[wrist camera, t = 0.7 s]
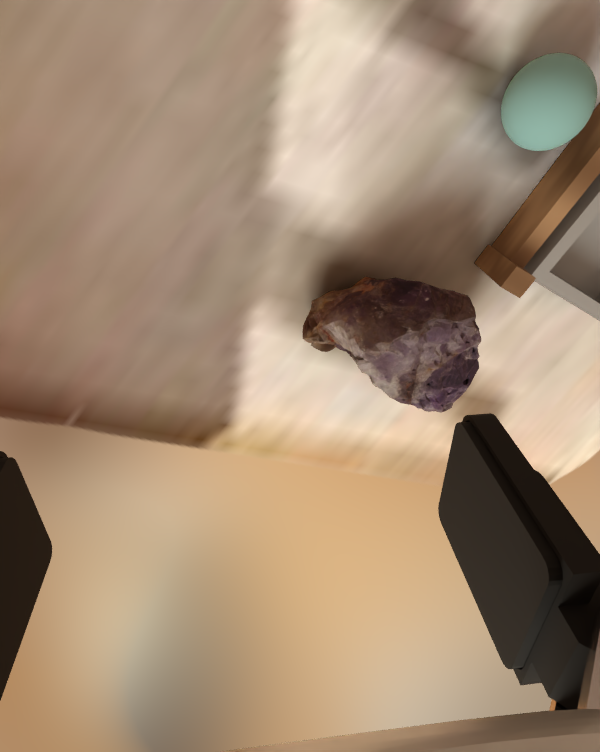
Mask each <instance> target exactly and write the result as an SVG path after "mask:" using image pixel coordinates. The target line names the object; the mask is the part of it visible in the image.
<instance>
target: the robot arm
mask: <svg viewBox="0 0 600 752" xmlns="http://www.w3.org/2000/svg"><path fill="white" fill-rule="evenodd" d="M438 509H439V517H440V521H441V524H442V526H443V528H444V530H445V532H446V535H447V537H448V539H449V542H450V544H451V546H452V549H453V551H454V553H455V556H456V558H457V560H458V562H459V565H460V567H461V569H462V571H463V574H464V576H465V578H466V581H467V583H468V585H469V587H470V590H471V592H472V594H473V597H474V599H475V601H476V603H477V605H478V608H479V610H480V612H481V615H482V617H483V619H484V622H485V624H486V626H487V628H488V631H489V633H490V635H491V637H492V640H493V642H494V644H495V647H496V649H497V651H498V653H499V656H500V658H501V660H502V662H503V664H504V665H505V667H506V668H508V669H514V671H515V674H516V676H517V678H518V680H519V683H520V685H527V684H534V683H542V684H543V686H544V688H545V690H546V692H547V694H548V696H549V697H550V698H551V699H552V701H551V706H550V710H549V711H541V712H532V713H523V714H514V715H505V716H495V717H486V718H477V719H468V720H459V721H451V722H443V723H435V724H428V725H420V726H412V727H404V728H396V729H388V730H381V731H373V732H365V733H358V734H350V735H342V736H334V737H326V738H318V739H311V740H303V741H296V742H289V743H281V744H274V745H266V746H258V747H251V748H243V749H236V750H229V751H222V752H600V554H599V553H598V551H597V550H596V549H595V547H594V546H593V545H592V543H591V542H590V540H589V539H588V538H587V536H586V535H585V534H584V532H583V531H582V529H581V528H580V527H579V525H578V524H577V522H576V521H575V520H574V518H573V517H572V516H571V514H570V513H569V511H568V510H567V509H566V507H565V506H564V505H563V503H562V502H561V500H560V499H559V498H558V496H557V495H556V494H555V492H554V491H553V490H552V488H551V487H550V485H549V484H548V482H547V481H546V480H545V478H544V477H543V476H542V475H541V474H540V473H539V472H537V471H535V470H534V469H533V468H532V466H531V465H530V464H529V462H528V461H527V459H526V458H525V457H524V455H523V454H522V452H521V451H520V450H519V448H518V447H517V445H516V444H515V443H514V441H513V440H512V438H511V437H510V436H509V434H508V433H507V431H506V430H505V429H504V427H503V426H502V424H501V423H500V422H499V420H498V419H497V417H496V416H495V415H494V414H491V413H490V414H477V415H467V416H465V417H464V418H463V421H462V422H459V423H457V424H456V426H455V430H454V435H453V440H452V444H451V449H450V454H449V459H448V463H447V468H446V473H445V478H444V482H443V487H442V492H441V497H440V502H439V508H438ZM51 556H52V545H51V541H50V538H49V536H48V534H47V532H46V529H45V527H44V524H43V522H42V520H41V518H40V515H39V513H38V511H37V508H36V506H35V503H34V501H33V499H32V497H31V494H30V492H29V490H28V487H27V485H26V483H25V480H24V478H23V476H22V473H21V471H20V469H19V466H18V464H17V462H16V460H15V459H14V458H8V457H7V455H6V454H5V453H4V452H2V451H0V700H1V697H2V694H3V692H4V689H5V686H6V683H7V680H8V678H9V675H10V672H11V669H12V667H13V664H14V661H15V658H16V655H17V653H18V649H19V647H20V644H21V641H22V639H23V636H24V633H25V630H26V627H27V625H28V622H29V619H30V616H31V613H32V611H33V608H34V605H35V602H36V599H37V597H38V594H39V591H40V588H41V585H42V583H43V580H44V577H45V574H46V571H47V569H48V566H49V563H50V559H51Z"/></svg>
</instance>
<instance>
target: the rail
mask: <svg viewBox="0 0 600 752" xmlns="http://www.w3.org/2000/svg"><path fill="white" fill-rule="evenodd" d="M599 174H600V103H599V105H598V106H597V107H596V109H595V110H594V111H593V112H592V115H591V117H590V119H589V120H588V122H587V123H586V125H585V126H584V128H583V129H582V130H581V131H580V132H579V133H578V134H577V135H576V136H575V137H574V138H573V139H572V140H571V142H570V143H569V144H568V146H567V147H566V148H565V149H564V151H563V152H562V153H561V155H560V156H559V157H558V159H557V160H556V161H555V163H554V164H553V165H552V167H551V168H550V169H549V171H548V172H547V173H546V175H545V176H544V177H543V179H542V180H541V181H540V183H539V184H538V185H537V187H536V188H535V189H534V190H533V192H532V193H531V194H530V196H529V197H528V198H527V200H526V201H525V202H524V204H523V205H522V206H521V208H520V209H519V210H518V212H517V213H516V214H515V216H514V217H513V218H512V220H511V221H510V222H509V224H508V225H507V226H506V228H505V229H504V230H503V231H502V233H501V234H500V235H499V237H498V238H497V239H496V241H495V242H494V243H493V245H492V246H490V245H489V244H488V245H487V247H486V248H485V249H484V251H483V252H482V253H481V255H480V256H479V257H478V259H477V260H476V261H475V264H476V265H477V266H478V267H479V268H480V269H481V270H482V271H484V272H485V273H486V274H487V275H488V276H489V277H490V278H491V279H493V280H494V281H495V282H496V283H497V284H498V285H499V286H500V287H502V288H504V289H505V290H507V291H509V292H510V293H512V294H514V295H516V296H517V297H519V298H520V297H521V296H522V295H523V294H524V293H525V291H526V290H527V289H528V288H529V286H530V285H531V284H532V283H533V282H534V280H535V279H536V278H535V277H534V276H533V275H531V274H530V273H529V272H528V271H526V270H525V269H524V267H525V265H526V264H527V263H528V262H529V260H530V259H531V258H532V257H533V255H534V254H535V253H536V252H537V250H538V249H539V248H540V247H541V246H542V244H543V243H544V242H545V241H546V239H547V238H548V237H549V236H550V234H551V233H552V232H553V231H554V229H555V228H556V227H557V226H558V224H559V223H560V222H561V221H562V219H563V218H564V217H565V216H566V214H567V213H568V212H569V211H570V210H571V208H572V207H573V206H574V205H575V203H576V202H577V201H578V200H579V198H580V197H581V196H582V195H583V193H584V192H585V191H586V190H587V188H588V187H589V186H590V185H591V183H592V182H593V181H594V180H595V178H596V177H597V176H598V175H599Z"/></svg>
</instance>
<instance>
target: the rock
mask: <svg viewBox="0 0 600 752" xmlns="http://www.w3.org/2000/svg"><path fill="white" fill-rule="evenodd" d="M475 318H476V314H475V309H474V307H473V305H472V302H471V300H470V298H469V297H468V296H467V295H462V294H460V293H457V292H455V291H450V290H445V289H439V288H436V287H433V286H431V285H428V284H425V283H422V282H418V281H406V280H402V279H398V278H392V279H387V280H376V279H373V278H369V277H364V278H363V279H361V280H360V281H358V282H357V283H356V284H355V285H354V286H352V287H351V288H348V289H344V290H339V291H330V292H328V293H326V294H324V295H323V296H321V297H320V298H318V299H315V300H313V301H312V305H311V310H310V312H309V315H308V316H307V318H306V321H305V323H304V325H303V339H304V340H305V341H307V342H309V343H312V344H311V346H313V347H314V348H316V349H318V350H320V351H324V352H328V351H330V350H332V349H333V348H335V347H337V348H338V349H340V350H343V351H347V353H348V354H350V356H351V357H352V358H353V359H354V361H355V362H356V364H357V365H358V368H359V369H360V370H361V372H362V373H365V374H367V375H369V377H370V379H371V382H372V384H373V385H374V386H375V387H378V388H380V389H382V390H383V391H384V392H385V393H386V394H387V395H388V396H389V397H390V398H392V399H395V400H396V401H398V402H400V403H404V404H411V405H414V406H416V407H417V408H422V409H423V410H424V411H437V412H444V411H446V410H448V409H450V408H452V405H453V403H454V402H455V401H456V400H457V399H458V398H459V397H460V396H461V395H462V394H463V393H464V392H465V391H466V390H467V388H468V387H469V385H470V384H471V382H472V380H473V378H474V376H475V374H476V372H477V371H478V369H479V362H478V358H479V353H478V348H477V347H478V345H479V343H480V342H481V336H480V333H479V328H478V326H477V325H476V322H475Z"/></svg>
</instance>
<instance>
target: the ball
mask: <svg viewBox="0 0 600 752" xmlns="http://www.w3.org/2000/svg"><path fill="white" fill-rule="evenodd" d="M596 98H597V85H596V80H595V77H594V75H593V72H592V70H591V69H590V67H589V66H588V65H587V64H586V63H585V62H584V61H583V60H581V59H580V58H578V57H576V56H574V55H570V54H566V53H553V54H547V55H544V56H541V57H539V58H536V59H535V60H533V61H531V62H529V63H528V64H527V65H525V66H524V67H523V68H522V69H521V70H520V71H519V72H518V73H517V74H516V75H515V76H514V78H513V79H512V80H511V82H510V83H509V85H508V87H507V89H506V91H505V94H504V97H503V101H502V106H501V120H502V124H503V127H504V129H505V132H506V133H507V135H508V136H509V138H510V139H511V140H512V141H513V142H514V143H515V144H517V145H519V146H520V147H522V148H525V149H528V150H533V151H544V150H550V149H554V148H556V147H559V146H561V145H563V144H565V143H567V142H568V141H570V140H571V139H573V138H574V137H575V136H576V135H577V134H578V133H579V132H580V131H581V130H582V129H583V128H584V126H585V125H586V123H587V122H588V120H589V119H590V117H591V115H592V112H593V110H594V107H595V103H596Z"/></svg>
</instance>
